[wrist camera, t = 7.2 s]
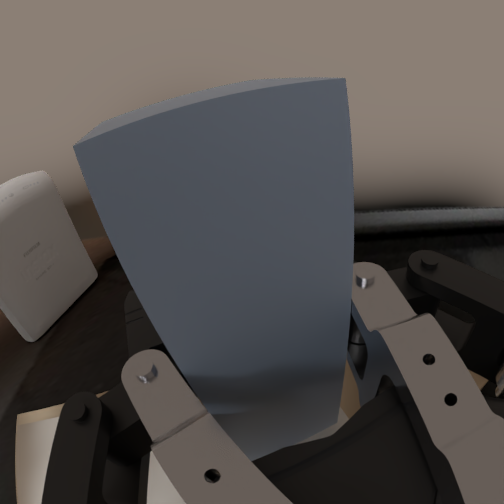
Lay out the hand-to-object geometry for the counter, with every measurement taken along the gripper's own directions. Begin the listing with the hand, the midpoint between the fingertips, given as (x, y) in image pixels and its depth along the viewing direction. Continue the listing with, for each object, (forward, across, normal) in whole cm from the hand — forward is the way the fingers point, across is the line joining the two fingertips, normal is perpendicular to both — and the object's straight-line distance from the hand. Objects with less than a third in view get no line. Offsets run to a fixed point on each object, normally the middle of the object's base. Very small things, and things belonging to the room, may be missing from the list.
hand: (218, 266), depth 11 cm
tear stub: (-3, 0, +7) cm, 7 cm away
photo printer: (+14, +14, +8) cm, 22 cm away
